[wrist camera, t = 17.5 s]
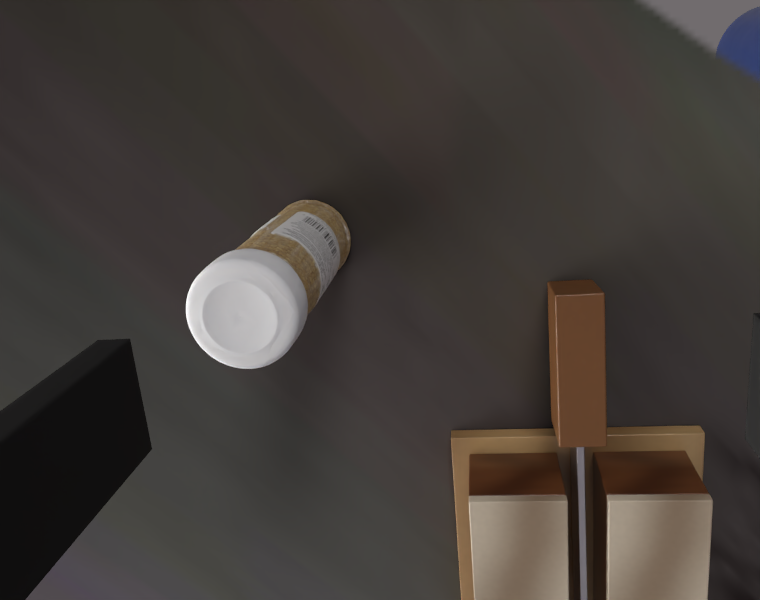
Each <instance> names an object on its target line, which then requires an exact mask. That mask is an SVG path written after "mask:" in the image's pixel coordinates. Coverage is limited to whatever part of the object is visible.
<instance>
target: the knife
mask: <svg viewBox="0 0 760 600" xmlns="http://www.w3.org/2000/svg"><path fill="white" fill-rule="evenodd" d="M547 286H548V319H549V353H550V386H551V420H552V423H553V427H554V430H555V434H556V438H557V441H558V445H559V447H561V448H566V447H570V456H571V496H572V537H573V577H574V600H588V594H587V546H586V499H585V451H584V447H606V446H607V402H606V335H605V294H604V292H603V291H602V290H601V289H600V288H599V287H598V286H597V285H596V283H595V282H594V281H593V280H570V281H549V282H548V283H547Z"/></svg>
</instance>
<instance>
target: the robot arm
mask: <svg viewBox="0 0 760 600" xmlns="http://www.w3.org/2000/svg"><path fill="white" fill-rule="evenodd" d="M745 439H746V440H747V442H748V443H749V445H750V446H751V447H752V449H753V450H754V451H755V453H756V454H757V455H758V457H759V458H760V313H756V314H754V316H753V330H752V345H751V359H750V374H749V388H748V403H747V417H746V432H745ZM151 449H152V447H151V442H150V437H149V432H148V427H147V422H146V417H145V412H144V407H143V402H142V397H141V392H140V387H139V382H138V377H137V372H136V367H135V362H134V357H133V352H132V347H131V342H130V339H116V340H97V341H96V342H95V343H93V344H92V345H91V346H89V347H88V348H86V349H85V350H84V351H82V352H81V353H80V354H78V355H77V356H76V357H74V358H73V359H71V360H70V361H69V362H67V363H66V364H65V365H63V366H62V367H60V368H59V369H58V370H56V371H55V372H54V373H52V374H51V375H49V376H48V377H47V378H45V379H44V380H43V381H41V382H40V383H38V384H37V385H36V386H34V387H33V388H32V389H30V390H29V391H27V392H26V393H25V394H23V395H22V396H21V397H19V398H18V399H16V400H15V401H14V402H12V403H11V404H10V405H8V406H7V407H5V408H4V409H3V410H1V411H0V600H25V599H26V598H27V597H28V596H29V594H30V593H31V592H32V591H33V590H34V588H35V587H36V586H37V585H38V584H39V583H40V581H41V580H42V579H43V578H44V577H45V575H46V574H47V573H48V572H49V571H50V569H51V568H52V567H53V566H54V565H55V564H56V562H57V561H58V560H59V559H60V558H61V556H62V555H63V554H64V553H65V552H66V550H67V549H68V548H69V547H70V546H71V545H72V543H73V542H74V541H75V540H76V539H77V537H78V536H79V535H80V534H81V533H82V531H83V530H84V529H85V528H86V527H87V525H88V524H89V523H90V522H91V521H92V520H93V518H94V517H95V516H96V515H97V514H98V512H99V511H100V510H101V509H102V508H103V506H104V505H105V504H106V503H107V502H108V501H109V499H110V498H111V497H112V496H113V495H114V493H115V492H116V491H117V490H118V489H119V487H120V486H121V485H122V484H123V483H124V482H125V480H126V479H127V478H128V477H129V476H130V474H131V473H132V472H133V471H134V470H135V468H136V467H137V466H138V465H139V464H140V463H141V461H142V460H143V459H144V458H145V457H146V455H147V454H148V453H149V452H150V451H151Z"/></svg>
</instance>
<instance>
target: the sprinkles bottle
mask: <svg viewBox="0 0 760 600" xmlns="http://www.w3.org/2000/svg"><path fill="white" fill-rule="evenodd" d="M350 246H351V237H350V231H349V229H348V227H347V224H346V222H345V220H344V219H343V217H342V216H341V214H340V213H339V212H338V211H336V210H335V209H334V208H333V207H331V206H330V205H328V204H325V203H323V202H319V201H317V200H300V201H297V202H295V203H292V204H290V205H288V206H287V207H286V208H285V209H283V210H282V211H281V212H280V213H279V214H278V215H277V216H276V217H274V218H273V219H271V220H270V221H269V222H267V223H266V224H265V225H264V226H262V227H261V228H260V229H259V230H257V231H256V232H255V233H254V234H253V235H252V236H251V237H250V238H249V239H248V240H247V241H246V242H244V243H243V244H242V245H241V246H239V247H238V248H237V249H236V250H234V251H230V252H228V253H225V254H223V255H222V256H220V257H218V258H217V259H216V260H214V261H213V262H212V263H211V264H209V265H208V266H207V267H206V268H205V269H204V270H203V271H202V272H201V273H200V274H199V275H198V276H197V277H196V279H195V280H194V282H193V283H192V285H191V287H190V290H189V292H188V296H187V300H186V317H187V321H188V325H189V328H190V330H191V333H192V335H193V337H194V338H195V340H196V342H197V343H198V344H199V345H200V347H201V348H202V349H203V350H204V351H205V352H206V353H207V354H209V355H210V356H211V357H213V358H214V359H216V360H217V361H219V362H221V363H223V364H226V365H228V366H231V367H236V368H243V369H255V368H260V367H264V366H267V365H269V364H272V363H273V362H275V361H277V360H278V359H280V358H281V357H282V356H283V355H284V354H285V353H286V352H287V351H288V350H289V349H290V348H291V346H292V345H293V344H294V342H295V341H296V339H297V338H298V336H299V335H300V333H301V331H302V330H303V327H304V325H305V322H306V319H307V315H308V314H309V313H310V312H311V310H312V309H313V308H314V307H315V305H316V304H317V302H318V301H319V299H320V298H321V296H322V295H323V293H324V292H325V290H326V289H327V287H328V286H329V284H330V282H331V281H332V279H333V278H334V276H335V274H336V273H337V271H338V270H339V269H340V268H341V266H342V265H343V264H344V263H345V261H346V259H347V256H348V254H349V251H350Z"/></svg>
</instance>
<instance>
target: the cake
mask: <svg viewBox="0 0 760 600" xmlns="http://www.w3.org/2000/svg"><path fill="white" fill-rule="evenodd" d="M704 442H705V433H704V431H703V430H702V428H701V427H700V426H699V425H695V426H646V427H607V446H606V447H584V451H585V499H586V546H587V594H588V600H708V582H709V564H710V546H711V528H712V510H713V500H712V498H711V496H710V495H709V493H708V491H707V489H706V487H705V485H704V484H703V462H704ZM451 447H452V463H453V478H454V494H455V509H456V525H457V540H458V556H459V572H460V587H461V600H574V577H573V537H572V496H571V456H570V447H566V448H561V447H559V445H558V441H557V438H556V434H555V430H554V428H547V429H498V430H452V431H451Z"/></svg>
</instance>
